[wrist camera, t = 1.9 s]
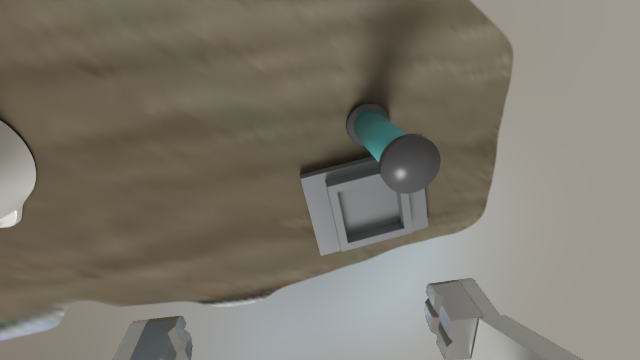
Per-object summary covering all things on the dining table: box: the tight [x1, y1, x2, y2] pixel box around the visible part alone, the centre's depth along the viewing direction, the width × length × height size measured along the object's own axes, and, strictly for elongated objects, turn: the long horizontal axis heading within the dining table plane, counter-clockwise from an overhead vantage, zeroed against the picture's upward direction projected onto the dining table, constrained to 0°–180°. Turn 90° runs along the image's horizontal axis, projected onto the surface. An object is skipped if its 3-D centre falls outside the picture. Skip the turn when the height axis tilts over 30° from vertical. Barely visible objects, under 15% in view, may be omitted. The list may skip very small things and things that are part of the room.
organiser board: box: [300, 156, 428, 256], centre depth 51 cm, size 18×14×4 cm
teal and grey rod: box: [346, 103, 440, 194], centre depth 40 cm, size 6×6×16 cm
